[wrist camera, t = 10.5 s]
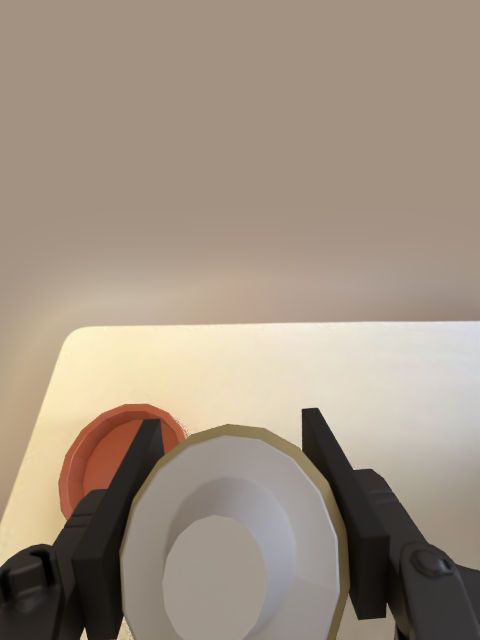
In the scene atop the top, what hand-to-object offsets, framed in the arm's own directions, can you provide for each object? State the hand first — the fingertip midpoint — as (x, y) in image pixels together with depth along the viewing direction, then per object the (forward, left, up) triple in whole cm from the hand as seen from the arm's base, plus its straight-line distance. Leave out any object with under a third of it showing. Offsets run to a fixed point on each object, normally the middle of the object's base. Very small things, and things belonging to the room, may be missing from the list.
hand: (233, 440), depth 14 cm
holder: (+10, -6, -22) cm, 25 cm away
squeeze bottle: (+1, +3, -8) cm, 8 cm away
